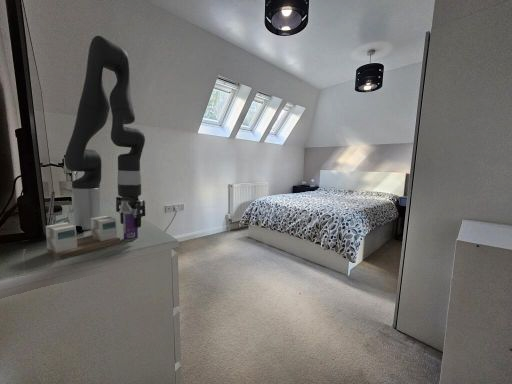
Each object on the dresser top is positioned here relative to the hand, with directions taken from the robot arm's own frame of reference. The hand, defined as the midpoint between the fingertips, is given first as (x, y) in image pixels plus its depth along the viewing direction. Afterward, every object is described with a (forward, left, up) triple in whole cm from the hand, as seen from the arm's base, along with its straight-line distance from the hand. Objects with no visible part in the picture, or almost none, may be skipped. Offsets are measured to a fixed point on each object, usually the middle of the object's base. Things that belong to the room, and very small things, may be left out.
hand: (130, 225), depth 81 cm
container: (0, 0, -5) cm, 5 cm away
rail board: (-4, -13, -5) cm, 14 cm away
